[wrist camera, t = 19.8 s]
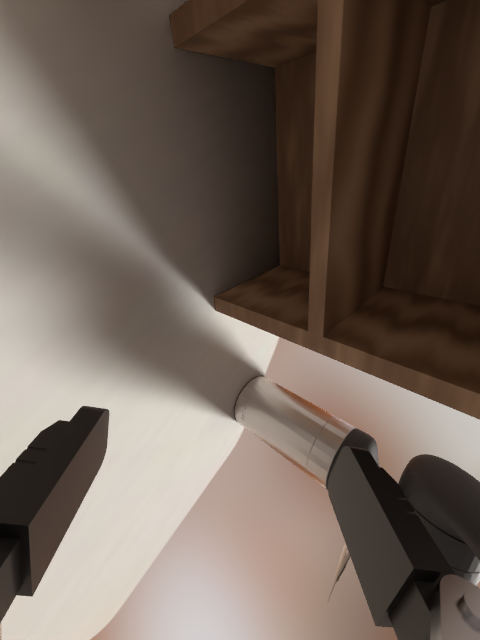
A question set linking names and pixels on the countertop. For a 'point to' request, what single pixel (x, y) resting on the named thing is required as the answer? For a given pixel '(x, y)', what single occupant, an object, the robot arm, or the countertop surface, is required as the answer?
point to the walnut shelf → (367, 181)
